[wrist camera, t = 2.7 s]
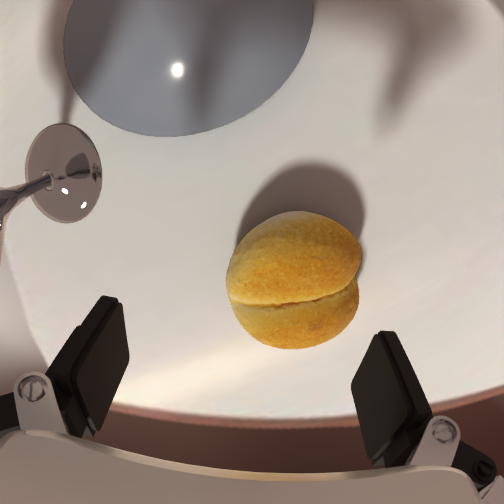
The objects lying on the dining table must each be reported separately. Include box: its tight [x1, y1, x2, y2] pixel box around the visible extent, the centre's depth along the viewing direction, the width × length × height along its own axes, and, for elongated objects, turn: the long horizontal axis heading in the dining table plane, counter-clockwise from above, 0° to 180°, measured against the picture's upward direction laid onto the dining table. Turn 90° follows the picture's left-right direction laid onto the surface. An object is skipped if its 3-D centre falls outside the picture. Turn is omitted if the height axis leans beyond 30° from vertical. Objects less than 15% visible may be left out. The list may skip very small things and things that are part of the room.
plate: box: [64, 0, 313, 137], centre depth 13 cm, size 14×14×2 cm
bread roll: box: [226, 211, 361, 349], centre depth 18 cm, size 8×9×4 cm
